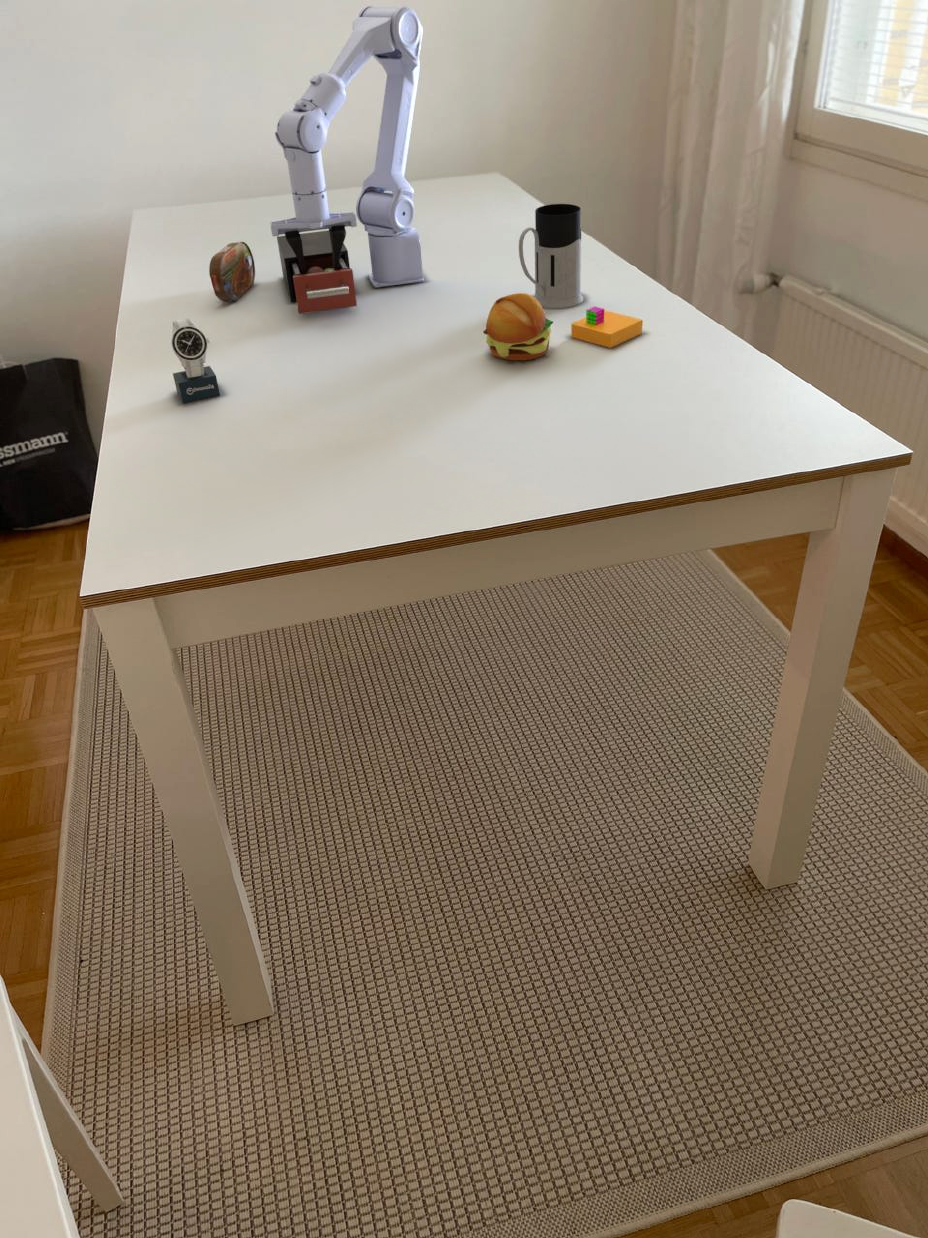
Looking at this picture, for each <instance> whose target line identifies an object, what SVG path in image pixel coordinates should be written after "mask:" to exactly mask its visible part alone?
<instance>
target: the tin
mask: <svg viewBox="0 0 928 1238" xmlns="http://www.w3.org/2000/svg"><path fill="white" fill-rule="evenodd" d="M255 265H256V264H255V259H254V256H253V253H252V250H251V247H249V245H248V244H247V242H245V241H239V242H238V241H237V242H230V243H228V244H226V246H224V247H223V248H222V249H220V250H219V251H218V252H217V253H215V254H214V255H213V256H212V257H211V259H210V262H209V267H208V274H209V278H210V281H211V285H212V289H213V292H214V295H215V296H216V298H217V299H219V300H220V301H223V302H229V301H233V302H236V301H238V300H239V299H240V298H241V297H242V296H243V295H244V294H245V293H246V292H248V291H249V290H250V289H251V288H252V287H253V285H254V283H255V280H256V278H255V277H256V266H255Z"/></svg>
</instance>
